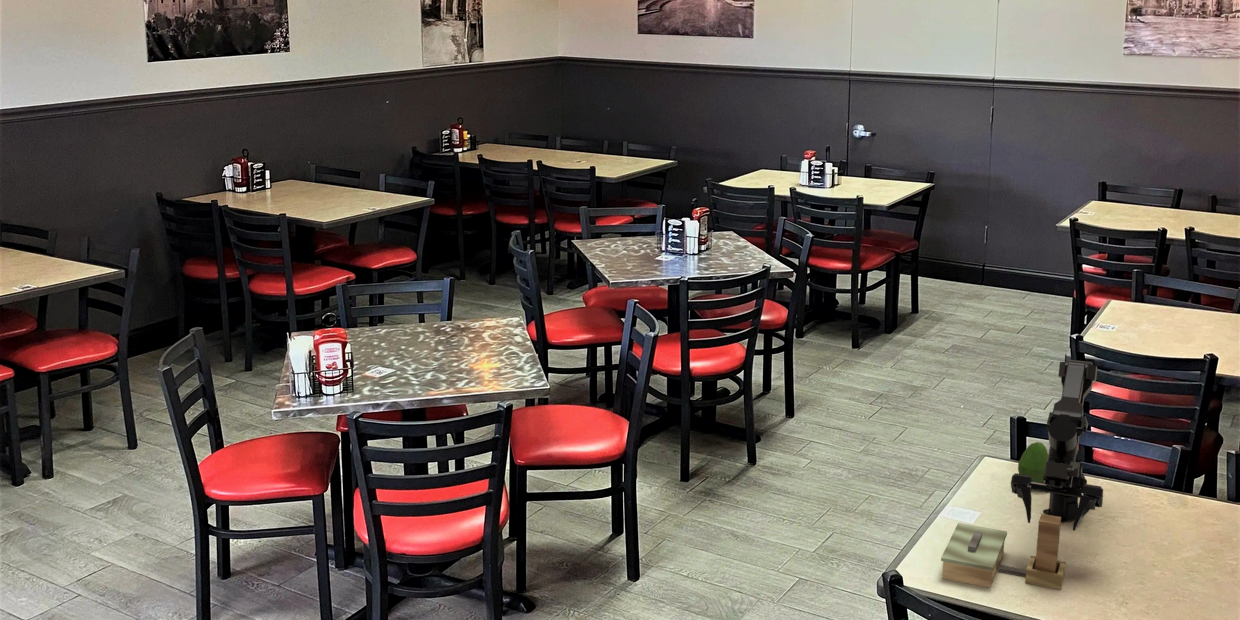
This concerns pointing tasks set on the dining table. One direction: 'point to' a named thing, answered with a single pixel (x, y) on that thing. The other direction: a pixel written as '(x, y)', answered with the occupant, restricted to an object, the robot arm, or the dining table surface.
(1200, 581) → the dining table surface
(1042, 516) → the brown wooden block
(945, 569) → the wooden box with frame
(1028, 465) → the avocado
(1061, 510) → the robot arm
